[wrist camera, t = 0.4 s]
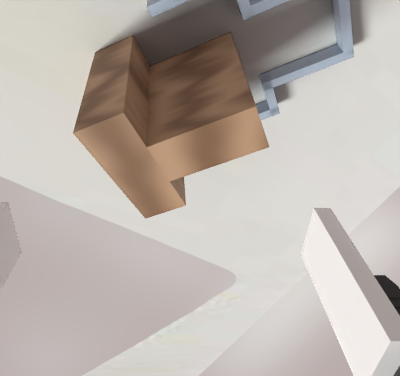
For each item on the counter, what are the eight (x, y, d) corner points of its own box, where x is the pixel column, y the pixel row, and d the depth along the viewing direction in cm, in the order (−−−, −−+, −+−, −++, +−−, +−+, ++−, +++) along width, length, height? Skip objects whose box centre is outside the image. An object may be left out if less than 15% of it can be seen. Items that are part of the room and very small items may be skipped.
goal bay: (334, -90, 30) (343, -86, 29) (349, 76, 42) (355, 85, 41) (147, -1, 34) (147, 7, 33) (208, 129, 46) (210, 138, 44)
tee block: (218, -4, 34) (242, 64, 25) (251, 95, 43) (278, 175, 33) (95, 52, 37) (73, 133, 28) (148, 134, 46) (145, 218, 36)
